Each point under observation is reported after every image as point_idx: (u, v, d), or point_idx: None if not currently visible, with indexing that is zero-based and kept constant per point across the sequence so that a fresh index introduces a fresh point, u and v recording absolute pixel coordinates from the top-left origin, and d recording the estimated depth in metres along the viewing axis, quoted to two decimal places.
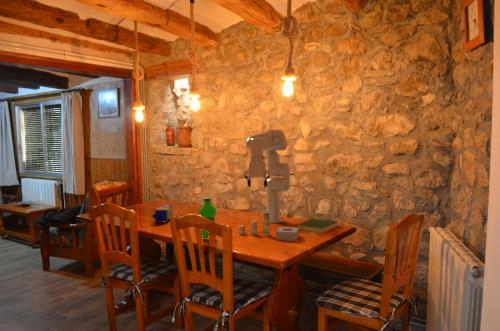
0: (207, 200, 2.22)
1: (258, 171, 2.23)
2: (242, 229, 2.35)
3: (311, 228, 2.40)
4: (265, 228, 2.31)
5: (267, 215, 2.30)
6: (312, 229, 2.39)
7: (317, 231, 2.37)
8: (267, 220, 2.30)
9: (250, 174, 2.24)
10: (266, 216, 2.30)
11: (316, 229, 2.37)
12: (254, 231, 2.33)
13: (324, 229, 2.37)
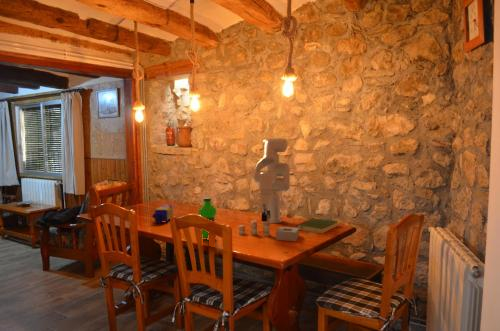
0: (207, 200, 2.22)
1: (270, 203, 2.32)
2: (242, 229, 2.35)
3: (311, 228, 2.40)
4: (265, 228, 2.31)
5: (267, 215, 2.30)
6: (312, 229, 2.39)
7: (317, 231, 2.37)
8: (267, 220, 2.30)
9: (268, 208, 2.27)
10: None
11: (316, 229, 2.37)
12: (254, 231, 2.33)
13: (324, 229, 2.38)
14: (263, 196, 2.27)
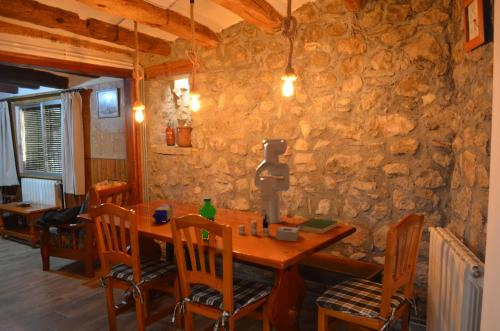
0: (207, 200, 2.22)
1: (270, 209, 2.32)
2: (242, 229, 2.35)
3: (311, 228, 2.39)
4: (265, 228, 2.31)
5: None
6: (312, 229, 2.39)
7: (317, 231, 2.37)
8: (267, 220, 2.30)
9: (268, 214, 2.28)
10: (266, 216, 2.30)
11: (316, 229, 2.37)
12: (254, 231, 2.33)
13: (324, 229, 2.38)
14: (263, 202, 2.27)
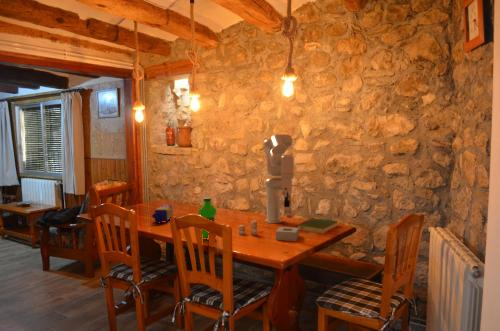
0: (207, 200, 2.22)
1: (291, 188, 2.25)
2: (242, 229, 2.35)
3: (312, 228, 2.39)
4: (286, 207, 2.23)
5: None
6: (313, 229, 2.39)
7: (318, 231, 2.37)
8: None
9: (289, 192, 2.20)
10: None
11: (317, 229, 2.37)
12: (254, 231, 2.33)
13: (325, 229, 2.38)
14: (285, 179, 2.19)
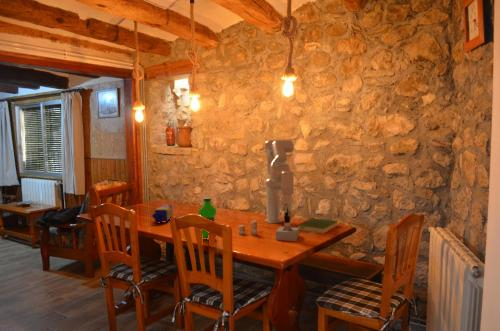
0: (207, 200, 2.22)
1: (291, 203, 2.25)
2: (242, 229, 2.35)
3: (312, 228, 2.39)
4: (287, 223, 2.23)
5: None
6: (313, 229, 2.39)
7: (318, 231, 2.37)
8: (289, 214, 2.23)
9: (290, 208, 2.21)
10: None
11: (317, 229, 2.37)
12: (254, 231, 2.33)
13: (325, 229, 2.38)
14: (285, 195, 2.20)
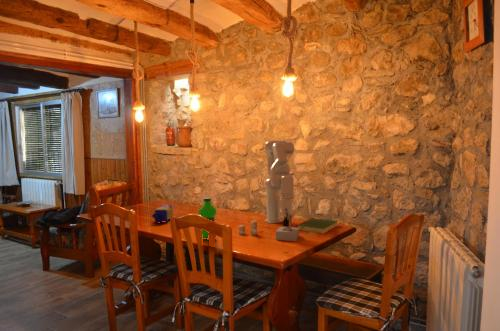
0: (207, 200, 2.22)
1: (291, 208, 2.26)
2: (242, 229, 2.35)
3: (312, 228, 2.39)
4: (286, 230, 2.24)
5: (289, 217, 2.24)
6: (313, 229, 2.39)
7: (318, 231, 2.37)
8: (289, 222, 2.24)
9: (290, 212, 2.21)
10: (288, 218, 2.23)
11: (317, 229, 2.37)
12: (254, 231, 2.33)
13: (325, 229, 2.38)
14: (285, 200, 2.20)
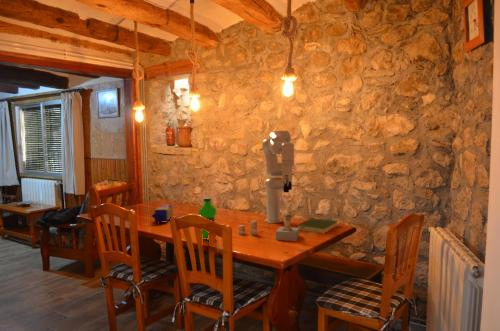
0: (207, 200, 2.22)
1: None
2: (242, 229, 2.35)
3: (312, 228, 2.39)
4: (286, 230, 2.24)
5: (289, 217, 2.24)
6: (313, 229, 2.39)
7: (318, 231, 2.37)
8: (289, 222, 2.24)
9: (290, 179, 2.24)
10: (288, 218, 2.23)
11: (317, 229, 2.37)
12: (254, 231, 2.33)
13: (325, 229, 2.38)
14: (285, 167, 2.23)
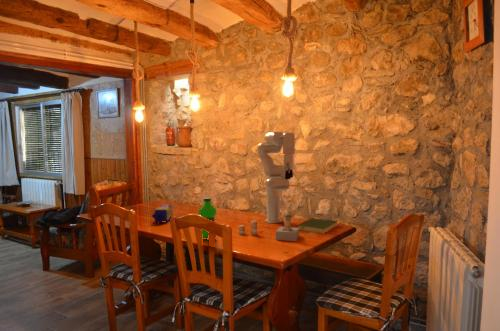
0: (207, 200, 2.22)
1: None
2: (242, 229, 2.35)
3: (312, 228, 2.39)
4: (286, 230, 2.24)
5: (289, 217, 2.24)
6: (313, 229, 2.39)
7: (319, 231, 2.37)
8: (289, 222, 2.24)
9: (291, 166, 2.36)
10: (288, 218, 2.23)
11: (318, 229, 2.37)
12: (254, 231, 2.33)
13: (325, 229, 2.38)
14: (287, 155, 2.35)
